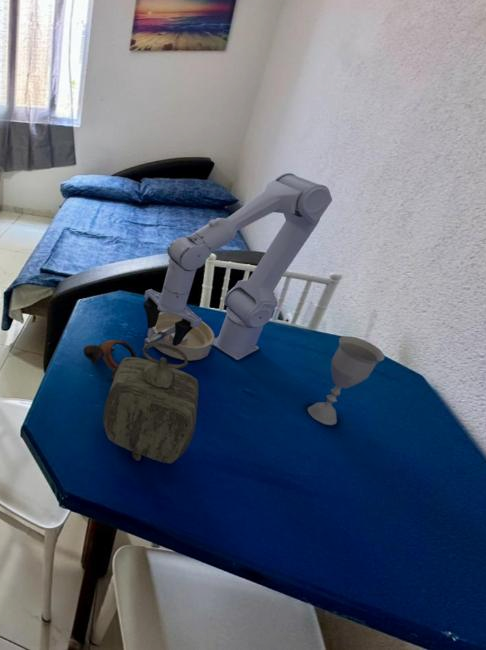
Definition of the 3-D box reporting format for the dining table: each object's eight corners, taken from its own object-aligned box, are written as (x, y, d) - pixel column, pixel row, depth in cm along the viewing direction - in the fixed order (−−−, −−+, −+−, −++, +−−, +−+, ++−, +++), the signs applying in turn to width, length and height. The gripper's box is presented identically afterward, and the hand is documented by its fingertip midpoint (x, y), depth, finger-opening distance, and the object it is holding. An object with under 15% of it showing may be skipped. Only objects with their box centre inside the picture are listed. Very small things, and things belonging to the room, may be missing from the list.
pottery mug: (120, 352, 102) (138, 339, 95) (123, 389, 96) (142, 378, 90) (76, 342, 100) (91, 328, 93) (76, 379, 95) (92, 367, 88)
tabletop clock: (180, 447, 77) (218, 344, 65) (175, 487, 70) (216, 380, 58) (105, 418, 83) (127, 319, 71) (93, 453, 76) (115, 348, 64)
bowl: (172, 319, 115) (176, 305, 112) (222, 350, 103) (227, 336, 101) (134, 334, 108) (138, 321, 106) (182, 370, 96) (187, 355, 94)
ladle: (176, 332, 108) (181, 315, 105) (190, 342, 104) (195, 324, 101) (135, 352, 101) (139, 334, 98) (149, 363, 98) (153, 345, 95)
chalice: (349, 432, 82) (393, 364, 73) (312, 426, 83) (351, 358, 74) (331, 404, 88) (370, 339, 79) (296, 399, 89) (331, 333, 80)
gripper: (140, 278, 97) (129, 324, 104) (192, 308, 86) (177, 357, 93) (160, 271, 100) (149, 316, 107) (213, 300, 89) (196, 348, 96)
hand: (163, 335), depth 100 cm, fingers open, 7 cm apart
